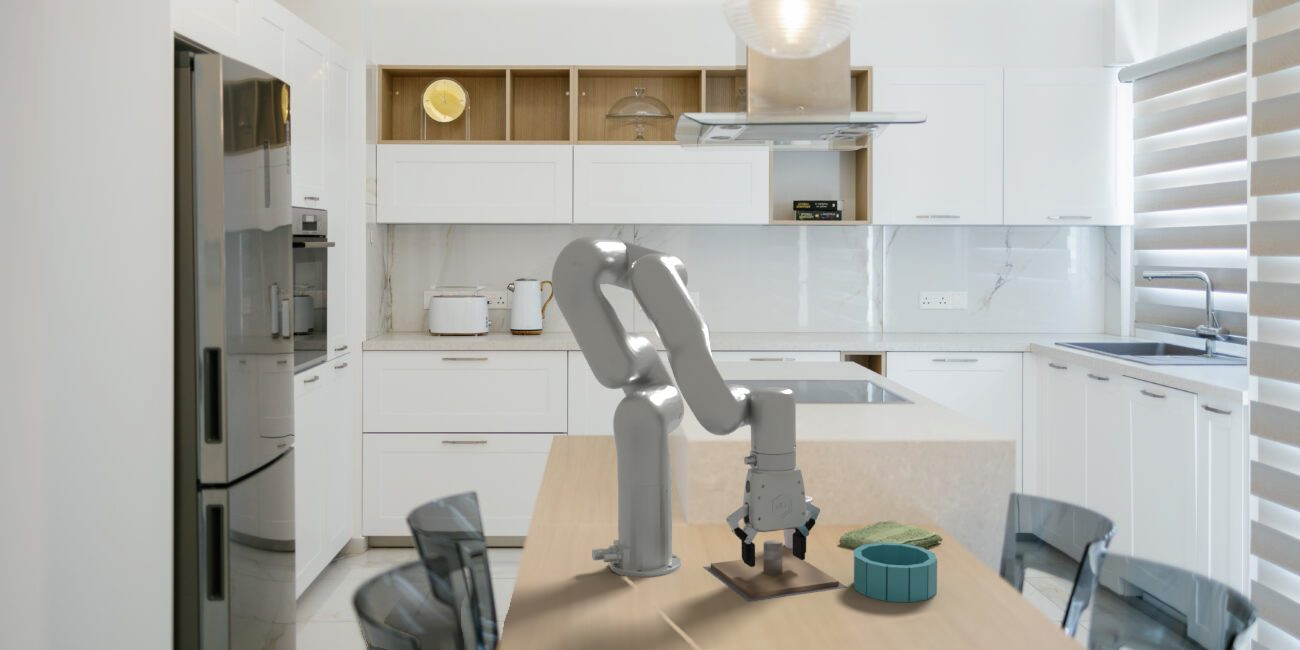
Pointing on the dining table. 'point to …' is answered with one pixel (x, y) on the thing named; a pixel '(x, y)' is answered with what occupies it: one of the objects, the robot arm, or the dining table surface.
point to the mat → (767, 596)
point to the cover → (774, 573)
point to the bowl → (895, 572)
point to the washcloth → (890, 535)
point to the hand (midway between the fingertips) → (774, 561)
